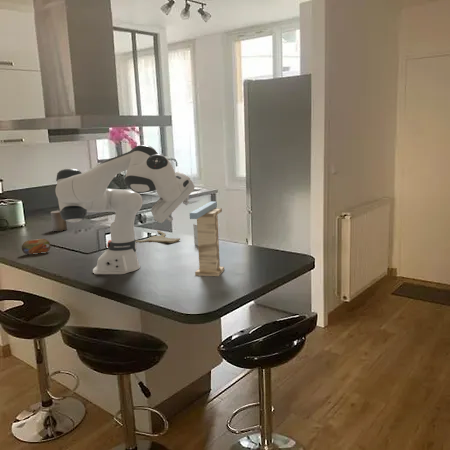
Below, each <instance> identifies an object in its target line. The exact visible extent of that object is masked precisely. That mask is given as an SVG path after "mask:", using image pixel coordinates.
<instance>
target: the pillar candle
mask: <svg viewBox="0 0 450 450" xmlns="http://www.w3.org/2000/svg"><path fill="white" fill-rule="evenodd" d="M49 213H50V218H51V227H52V232H54V231H60V232H64V231H63V230H66V231H68V227H67V221H64V220H63V219H62V218H61V215H60V209H57V210H52V211H50V212H49Z"/></svg>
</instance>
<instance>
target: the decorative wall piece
mask: <svg viewBox="0 0 450 450" xmlns="http://www.w3.org/2000/svg"><path fill="white" fill-rule="evenodd" d="M156 233H158V234H159V235H153V236H150V237H148V238H146V239H141V240H136V242H139V243H147V242H148V243H165V244H166V243H167V244H169V243H170V244H173V243H177V242H179V241H181V238H178V237H177V238H171V237H170V238H169V237H166V236H167V234H166V233H165V232H162V231H161V230H157V232H156Z"/></svg>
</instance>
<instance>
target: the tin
mask: <svg viewBox="0 0 450 450" xmlns="http://www.w3.org/2000/svg"><path fill="white" fill-rule="evenodd" d="M50 249H51V243H50V241H49V240H48V239H47V238H39V239H29V240H26V241H25V242H24V241H23V244H22V245H21V250H22V252H23V254H25V255H26V254H33V253H41V252H47V253H48V252H50Z"/></svg>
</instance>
